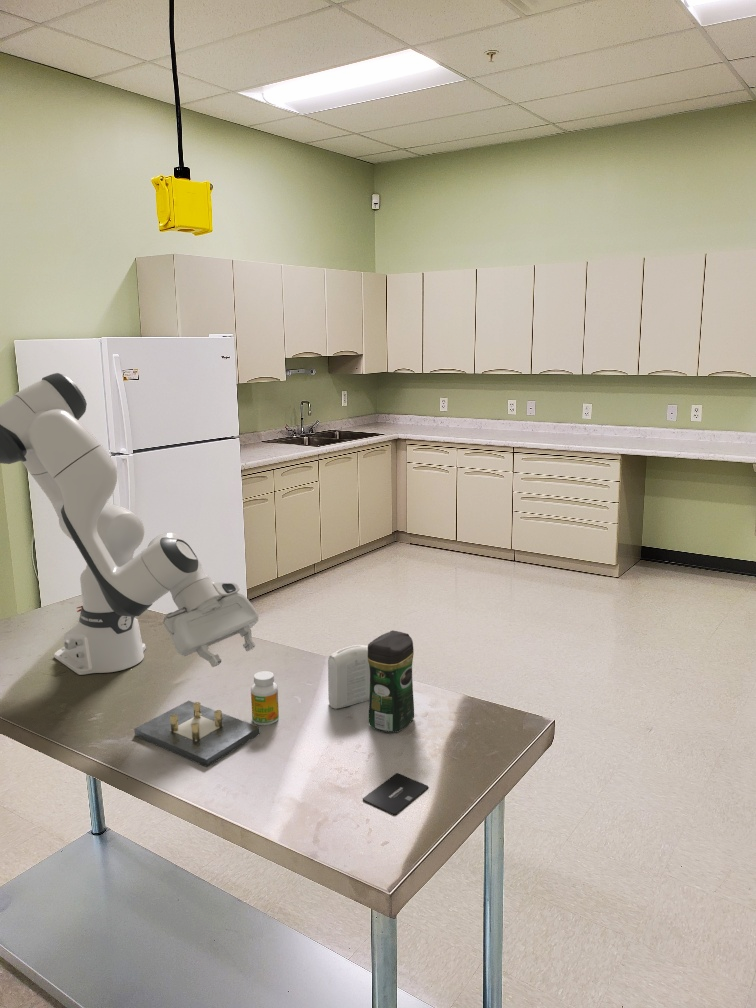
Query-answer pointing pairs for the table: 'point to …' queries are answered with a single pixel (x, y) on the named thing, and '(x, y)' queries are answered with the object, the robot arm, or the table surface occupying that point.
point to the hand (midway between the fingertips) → (234, 656)
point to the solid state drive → (395, 794)
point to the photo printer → (348, 676)
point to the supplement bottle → (264, 699)
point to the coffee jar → (391, 681)
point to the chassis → (197, 732)
